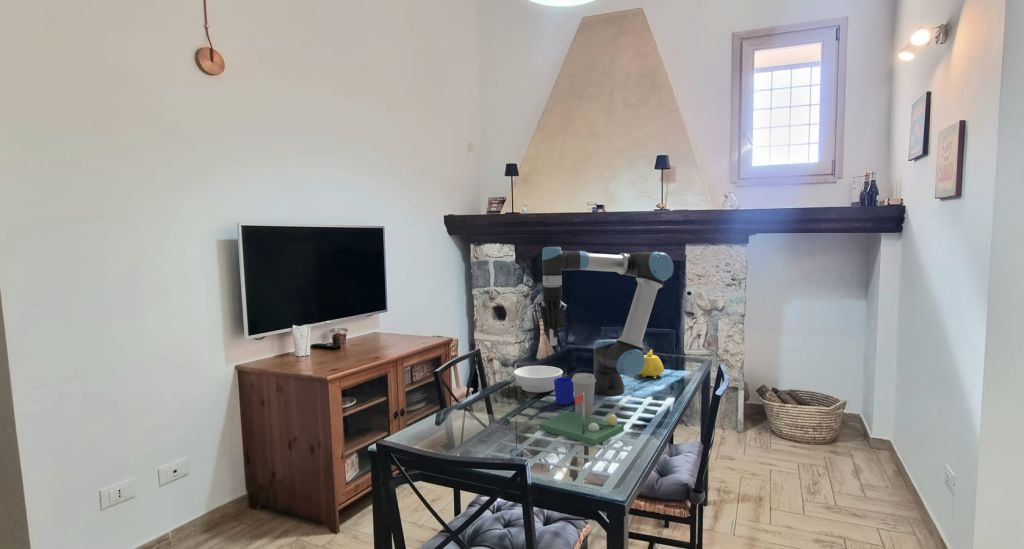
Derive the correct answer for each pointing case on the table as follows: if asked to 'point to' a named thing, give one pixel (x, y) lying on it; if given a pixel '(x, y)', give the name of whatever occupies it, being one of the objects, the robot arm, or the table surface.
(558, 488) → the table surface
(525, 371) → the bowl
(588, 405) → the coffee cup
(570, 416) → the putting mat
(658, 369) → the teapot
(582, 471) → the table surface
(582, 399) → the flag pin
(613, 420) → the yellow ball
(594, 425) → the white ball
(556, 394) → the mug
